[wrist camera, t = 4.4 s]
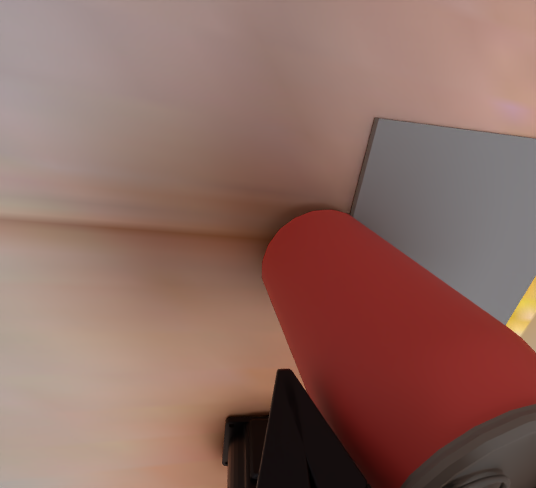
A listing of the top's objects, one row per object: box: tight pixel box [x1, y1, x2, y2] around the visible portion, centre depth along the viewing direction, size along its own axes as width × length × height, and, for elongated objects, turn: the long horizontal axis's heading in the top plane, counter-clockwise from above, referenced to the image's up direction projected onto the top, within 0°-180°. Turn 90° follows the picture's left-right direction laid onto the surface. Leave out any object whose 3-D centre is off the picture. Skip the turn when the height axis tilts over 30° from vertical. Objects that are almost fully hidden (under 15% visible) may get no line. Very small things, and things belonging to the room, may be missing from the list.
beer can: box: [262, 209, 536, 488], centre depth 12 cm, size 7×7×12 cm
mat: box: [350, 118, 536, 325], centre depth 19 cm, size 16×14×1 cm
